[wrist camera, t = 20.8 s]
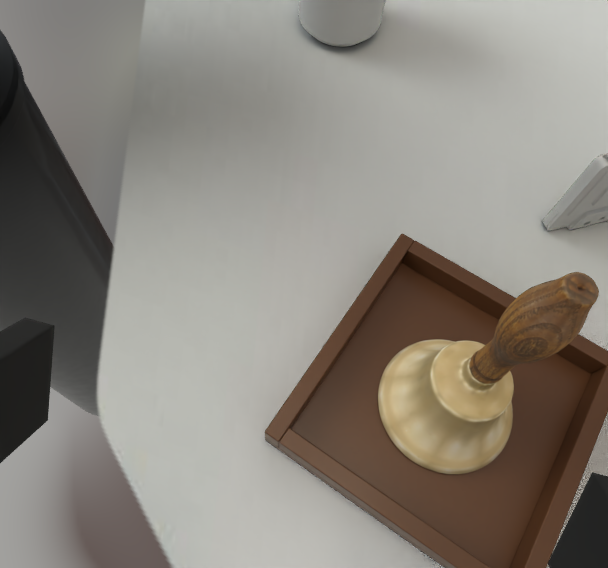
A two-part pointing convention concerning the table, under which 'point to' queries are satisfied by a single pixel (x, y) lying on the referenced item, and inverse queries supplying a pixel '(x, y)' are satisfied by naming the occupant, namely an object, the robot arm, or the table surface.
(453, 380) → the hand bell
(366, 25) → the can
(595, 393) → the tray
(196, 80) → the table surface
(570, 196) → the cassette
